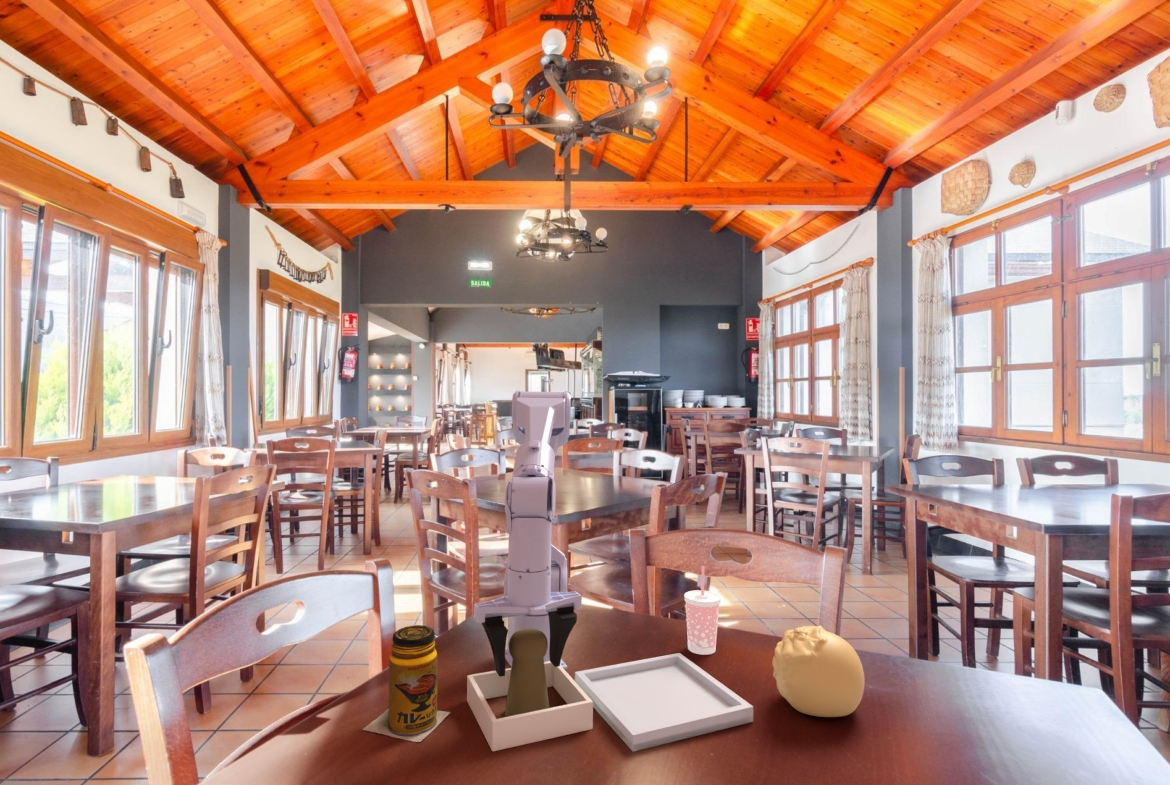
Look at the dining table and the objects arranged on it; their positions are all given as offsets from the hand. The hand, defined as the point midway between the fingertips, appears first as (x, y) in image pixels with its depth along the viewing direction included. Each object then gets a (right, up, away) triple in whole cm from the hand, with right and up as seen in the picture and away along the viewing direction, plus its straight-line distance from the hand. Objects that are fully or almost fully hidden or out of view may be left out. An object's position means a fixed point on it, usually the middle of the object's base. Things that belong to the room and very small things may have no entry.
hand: (527, 668), depth 83 cm
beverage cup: (+27, -7, +22) cm, 36 cm away
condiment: (-15, -6, -2) cm, 17 cm away
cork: (0, -6, 0) cm, 6 cm away
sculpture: (+40, -7, +4) cm, 41 cm away
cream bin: (0, -6, 0) cm, 6 cm away
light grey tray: (+18, -6, +4) cm, 19 cm away
